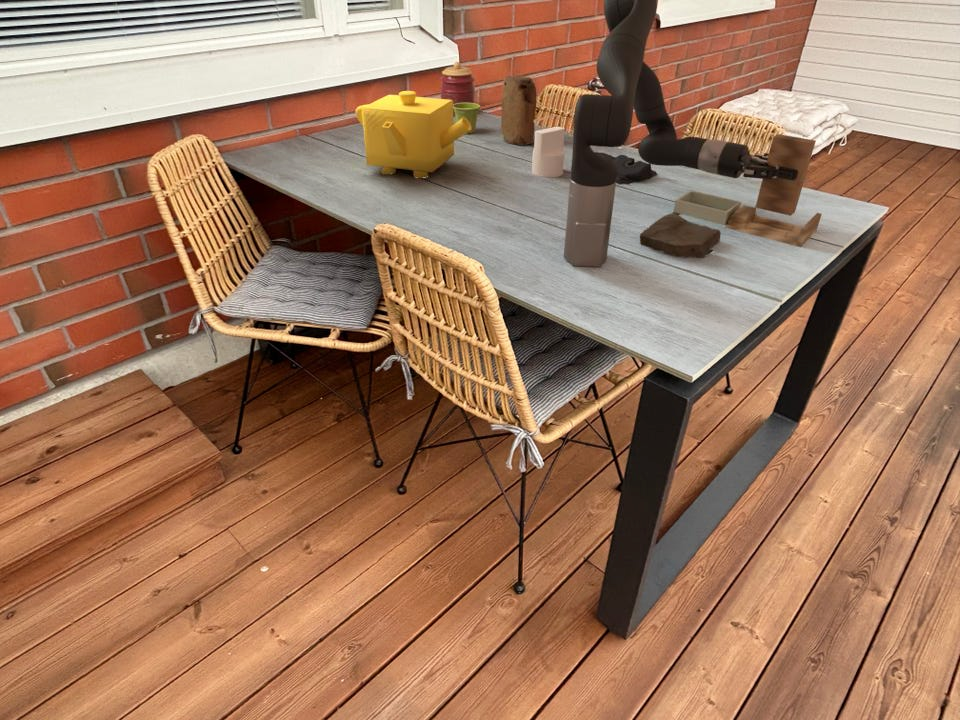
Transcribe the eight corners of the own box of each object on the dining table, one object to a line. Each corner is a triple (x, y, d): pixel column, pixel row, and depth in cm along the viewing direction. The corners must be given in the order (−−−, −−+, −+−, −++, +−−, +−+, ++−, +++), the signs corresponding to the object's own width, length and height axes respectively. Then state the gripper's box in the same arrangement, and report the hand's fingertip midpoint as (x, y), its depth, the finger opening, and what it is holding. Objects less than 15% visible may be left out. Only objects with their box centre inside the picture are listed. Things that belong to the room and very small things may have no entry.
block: (498, 140, 214) (499, 75, 203) (514, 136, 218) (517, 72, 207) (521, 148, 207) (524, 81, 196) (537, 143, 211) (541, 78, 200)
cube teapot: (335, 179, 182) (325, 99, 170) (381, 149, 205) (376, 78, 193) (451, 193, 172) (449, 110, 160) (486, 161, 196) (487, 86, 184)
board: (755, 207, 149) (773, 136, 140) (759, 204, 151) (777, 134, 142) (790, 215, 145) (811, 143, 136) (794, 212, 147) (815, 140, 138)
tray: (672, 215, 160) (675, 200, 158) (687, 205, 166) (690, 190, 164) (723, 228, 154) (727, 212, 151) (737, 217, 159) (741, 201, 157)
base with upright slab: (545, 179, 182) (548, 136, 176) (525, 171, 188) (527, 128, 182) (569, 173, 187) (572, 130, 180) (548, 165, 193) (551, 124, 186)
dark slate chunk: (605, 158, 200) (607, 143, 197) (661, 177, 186) (664, 161, 183) (569, 167, 192) (570, 151, 190) (624, 188, 178) (627, 171, 175)
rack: (723, 231, 152) (728, 211, 150) (741, 216, 160) (746, 196, 157) (799, 251, 143) (806, 229, 141) (815, 234, 151) (821, 213, 148)
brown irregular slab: (667, 226, 156) (670, 209, 153) (726, 243, 148) (730, 225, 145) (632, 247, 145) (634, 230, 143) (693, 267, 137) (697, 249, 135)
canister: (457, 118, 238) (457, 66, 228) (433, 112, 245) (431, 61, 235) (481, 112, 246) (482, 61, 236) (457, 106, 253) (457, 57, 243)
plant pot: (468, 126, 228) (468, 101, 223) (485, 132, 222) (485, 106, 217) (447, 131, 223) (446, 105, 218) (464, 137, 217) (464, 110, 212)
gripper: (714, 148, 144) (794, 163, 135) (737, 136, 153) (813, 149, 144) (707, 181, 148) (784, 198, 139) (730, 167, 157) (803, 182, 148)
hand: (798, 173), depth 142 cm, fingers closed on board, 3 cm apart
